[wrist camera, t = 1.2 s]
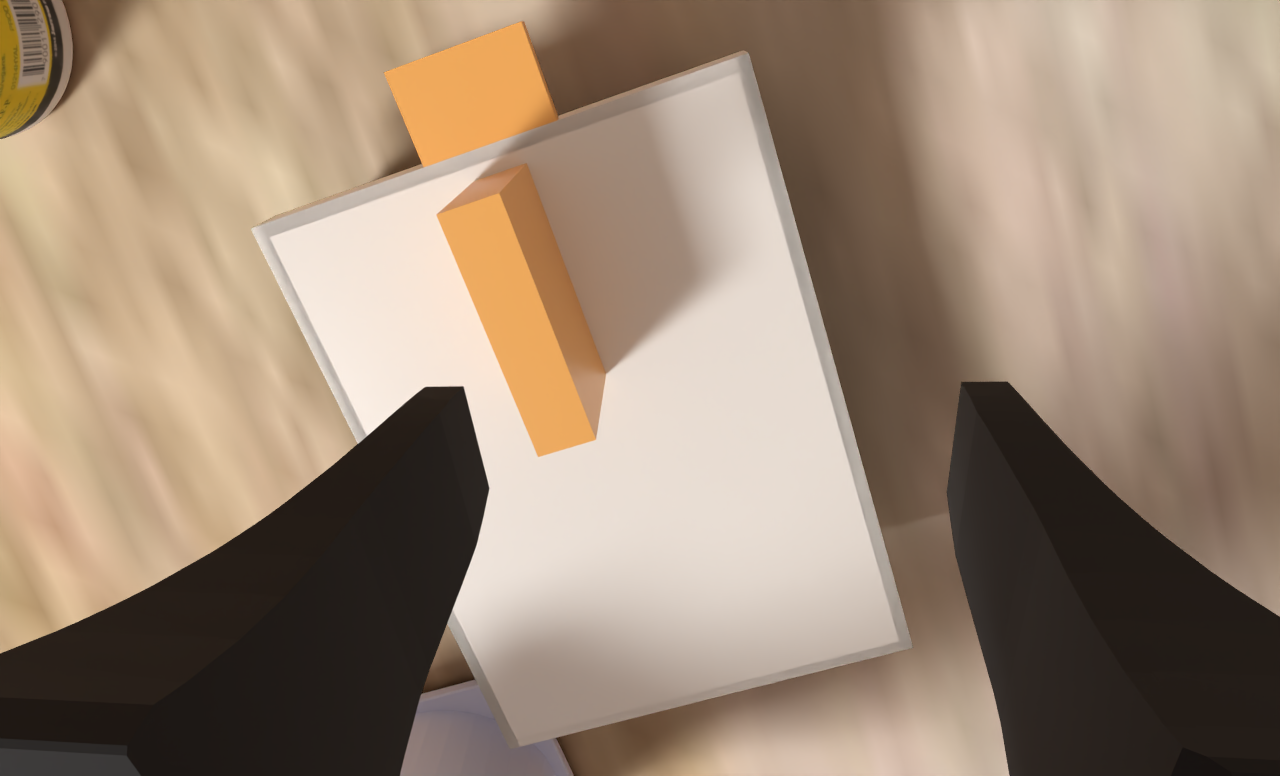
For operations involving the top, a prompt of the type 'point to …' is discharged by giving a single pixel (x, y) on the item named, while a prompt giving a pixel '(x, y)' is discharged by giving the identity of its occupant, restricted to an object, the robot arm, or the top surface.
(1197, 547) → the top surface
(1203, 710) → the robot arm
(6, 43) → the supplement bottle
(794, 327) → the lid
